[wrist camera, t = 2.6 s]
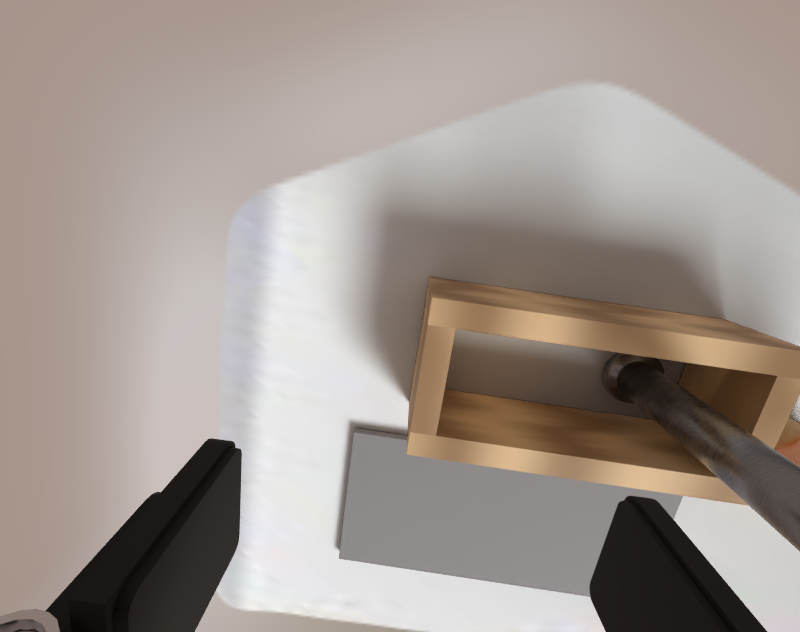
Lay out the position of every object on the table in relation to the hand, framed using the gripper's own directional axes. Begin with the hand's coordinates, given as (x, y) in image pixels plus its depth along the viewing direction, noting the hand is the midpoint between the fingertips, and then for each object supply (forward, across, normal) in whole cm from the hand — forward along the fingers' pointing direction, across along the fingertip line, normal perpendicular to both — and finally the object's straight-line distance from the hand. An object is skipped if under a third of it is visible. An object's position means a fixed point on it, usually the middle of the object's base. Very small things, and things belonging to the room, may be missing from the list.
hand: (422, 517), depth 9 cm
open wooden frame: (+13, -8, 0) cm, 15 cm away
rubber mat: (+13, -7, +11) cm, 18 cm away
